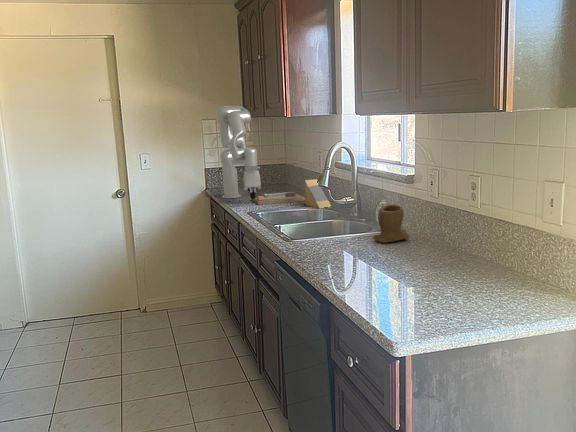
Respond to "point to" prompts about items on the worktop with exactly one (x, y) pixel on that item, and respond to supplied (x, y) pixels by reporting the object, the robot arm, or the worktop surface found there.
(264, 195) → the upper tong arm
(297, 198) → the walnut cutting board
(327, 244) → the worktop surface
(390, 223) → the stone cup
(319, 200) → the sandwich container
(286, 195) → the tongs lower arm
